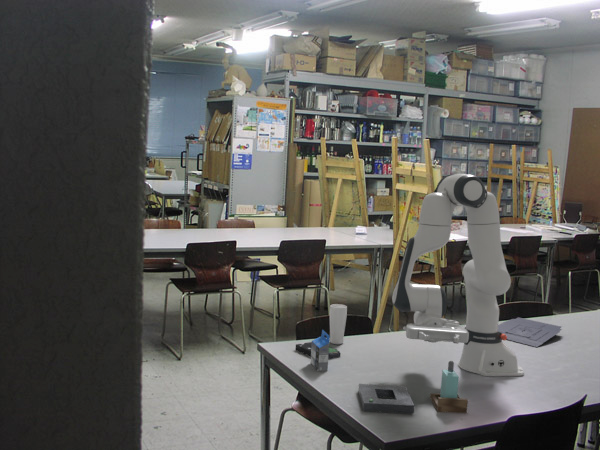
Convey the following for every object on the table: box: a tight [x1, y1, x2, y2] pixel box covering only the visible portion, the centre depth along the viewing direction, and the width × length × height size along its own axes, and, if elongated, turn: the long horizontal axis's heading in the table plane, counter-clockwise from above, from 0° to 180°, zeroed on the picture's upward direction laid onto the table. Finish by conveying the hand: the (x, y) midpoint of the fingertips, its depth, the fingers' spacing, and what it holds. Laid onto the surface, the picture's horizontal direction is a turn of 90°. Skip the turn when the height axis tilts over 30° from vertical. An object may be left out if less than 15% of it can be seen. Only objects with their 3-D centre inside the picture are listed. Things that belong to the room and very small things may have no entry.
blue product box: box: [310, 329, 330, 372], centre depth 217 cm, size 9×4×12 cm, turn 16°
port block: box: [358, 383, 415, 415], centre depth 188 cm, size 14×16×3 cm
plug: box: [439, 360, 460, 398], centre depth 188 cm, size 4×6×14 cm, turn 0°
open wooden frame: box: [429, 392, 469, 414], centre depth 188 cm, size 8×11×4 cm
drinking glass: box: [329, 303, 348, 345], centre depth 248 cm, size 7×7×15 cm
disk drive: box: [295, 341, 342, 360], centre depth 234 cm, size 10×3×15 cm
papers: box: [498, 316, 563, 348], centre depth 276 cm, size 24×30×4 cm
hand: (441, 339), depth 199 cm, fingers open, 8 cm apart
